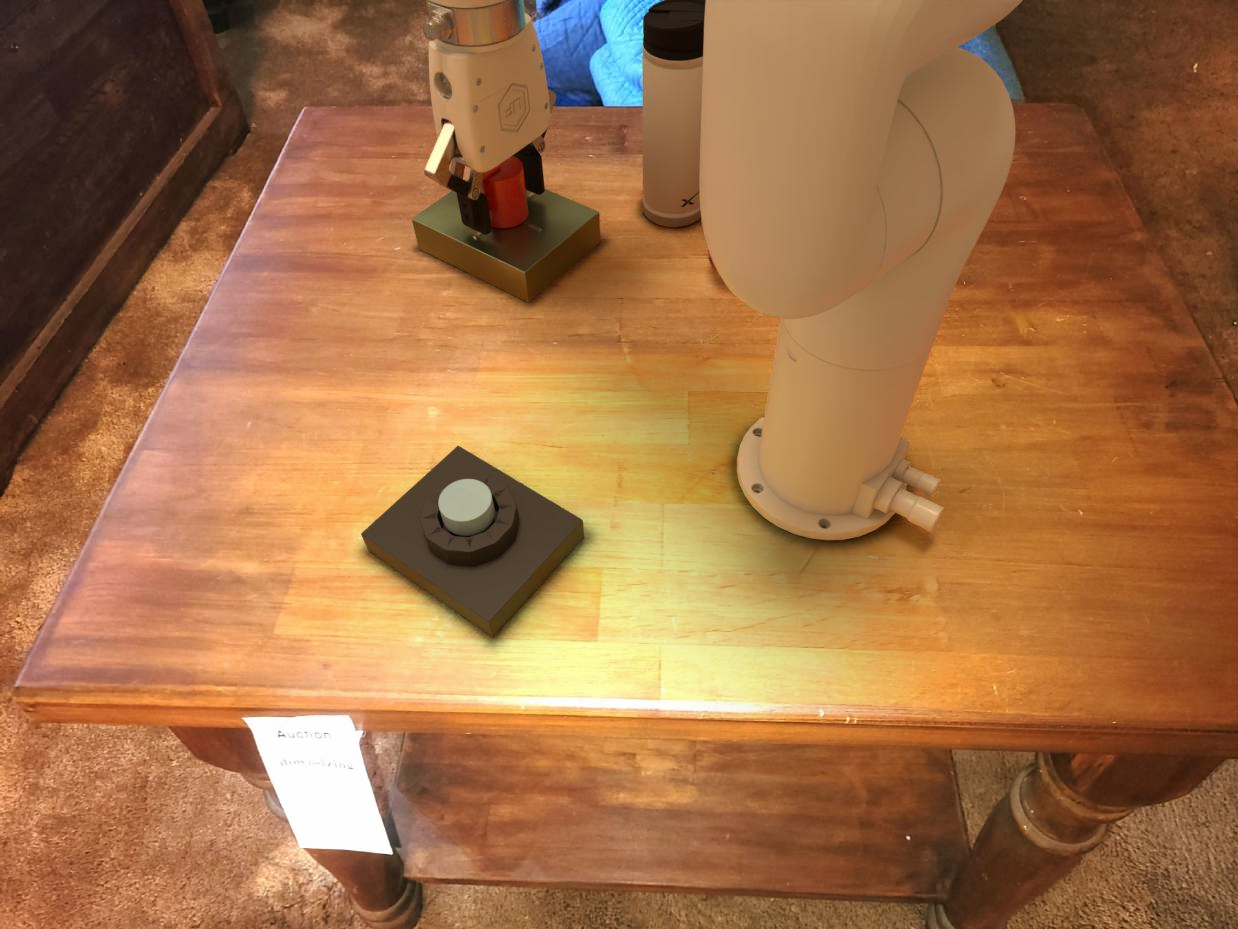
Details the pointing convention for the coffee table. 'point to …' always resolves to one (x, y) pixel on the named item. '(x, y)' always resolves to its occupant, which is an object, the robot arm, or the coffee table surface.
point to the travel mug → (672, 110)
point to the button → (466, 507)
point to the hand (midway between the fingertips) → (504, 207)
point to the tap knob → (506, 193)
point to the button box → (475, 542)
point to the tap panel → (512, 242)
